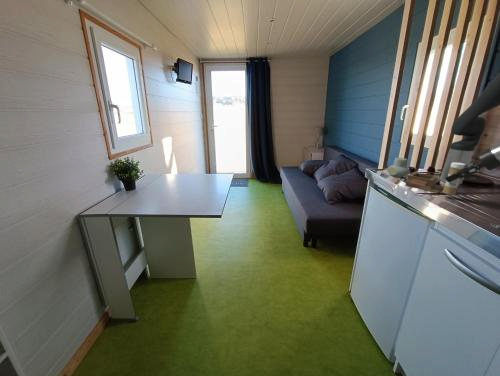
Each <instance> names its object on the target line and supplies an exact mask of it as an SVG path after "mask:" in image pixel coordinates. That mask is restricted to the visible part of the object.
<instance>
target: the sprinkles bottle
mask: <svg viewBox="0 0 500 376" xmlns="http://www.w3.org/2000/svg"><path fill="white" fill-rule="evenodd" d="M465 166H466V164H464V163H458V162H453V163H452V164H451V166H450V171H449V174H448V176H450V175H453V174H455V173H456V172H459V171H460V170H461V169H462V168H464V167H465ZM462 173H463V172H462ZM462 173H461V174H462ZM459 183H460V178H458V179H455V180H453V181H451V182H447V181H446V182H444V185H443V186H444V188H443V189H442V191H441V192H442V193H443V194H446V195H449V196H450V195H452V196H455V195H457V190H458V188H459V185H460V184H459Z"/></svg>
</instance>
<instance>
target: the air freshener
mask: <svg viewBox="0 0 500 376" xmlns="http://www.w3.org/2000/svg"><path fill="white" fill-rule="evenodd" d="M407 162H408V159H407V158H405V157H395V158H394V161H393V164H391V165H389V166H388V167H387V168H386V171H387V174H389V175H390V176H392V177H394V178H404V177H403V176H405V177H406V175H407V176H408V175H410V174H411V171H410V169H409V168H408V166H407Z"/></svg>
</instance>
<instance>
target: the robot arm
mask: <svg viewBox="0 0 500 376" xmlns="http://www.w3.org/2000/svg"><path fill="white" fill-rule="evenodd" d="M499 106H500V72H499V73H497V75H496V76H495V77H494V78H493V79H492V80H491V81H490V83H489V84H488V85H487V86H486V87H485V88H484V90H483V91H482V92H481V93H480V95H478V97H477V98H476V99H475V100H474V101H473V102H472V104H471V105H470V106H468V108H466V109H465V111H463V112H462V113H461V114H460V115H459V116H457V118H456V119H455V121H454V122H453V124H452V126H451V133H452V134H453V135H455V136H461V137H463V136H465V137H464V138H463V139H461V140H458V141H455V142H452V143H451V144H450V147H449V150H448V153H447V157H446V159H445V163H444V165H443V169H442V171H441V175H440V177H439V181H440V182H444V183H446V181H447V182H451V181H453V180H455V179H458V178H460V183H459V185H462V184H463V181H464V179H465V178H466V177H468V176H471V175H474V174H476V173H478V172H480V171H481V169H483V168H485V169H486V170H488V171H493V170H496V169H498V168H500V143H499V144H497V145H494V146H493V147H492V146H491V148H489V149H486V150H484V151H482V152H480V153H477V155H476V157H477V159H478V160H475V161H471V159H472V156H473V154H474V151H475V148H476V147H477V145H478V144H479V142H480V139H481V138H482V135H483V134H484V131H485V127H486V118H484V117H482V116H481V115H482V114H485V113H486V112H488V111H491V110H493V109H495V108H497V107H499ZM453 162H458V163H464V164H466V166H465V167H464V168H462V169H461V170H460V171H459V172H456V173H455V174H453V175H450V176H448V174H449V171H450V166H451V164H452V163H453ZM462 172H463V173H462ZM461 173H462V174H461Z"/></svg>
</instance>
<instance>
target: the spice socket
mask: <svg viewBox="0 0 500 376" xmlns="http://www.w3.org/2000/svg"><path fill="white" fill-rule="evenodd" d="M438 179H439V176H435V175H432V174H425V173H421V172H416V171H415V172H412V173H409V174H408V175H407V178H406V181H405V185H404V186H406V187H409V188H410V187H411V188H414V189H418V190H422V191H427V192H430V193H435V194H438V193H440V192H441V190H442V191H443V189H444V186H445V185H439V184H437V183H438V182H437V181H438Z"/></svg>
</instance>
